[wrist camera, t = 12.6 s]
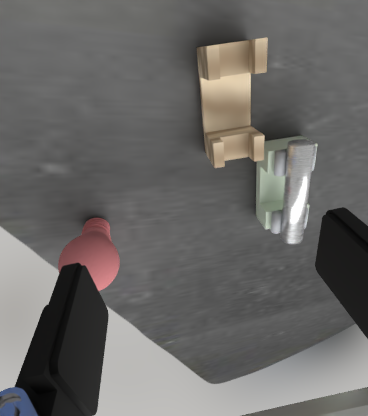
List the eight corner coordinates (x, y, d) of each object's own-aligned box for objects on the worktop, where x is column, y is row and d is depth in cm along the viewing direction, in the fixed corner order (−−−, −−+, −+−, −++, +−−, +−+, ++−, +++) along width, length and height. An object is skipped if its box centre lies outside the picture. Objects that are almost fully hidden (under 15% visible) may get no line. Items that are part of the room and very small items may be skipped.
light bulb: (130, 237, 42) (125, 296, 32) (87, 249, 42) (68, 312, 32) (113, 199, 39) (101, 252, 28) (66, 213, 39) (37, 270, 29)
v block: (257, 142, 37) (273, 155, 32) (301, 135, 37) (323, 146, 33) (255, 215, 43) (269, 234, 39) (294, 208, 44) (312, 227, 39)
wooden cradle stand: (196, 47, 31) (206, 46, 26) (247, 40, 31) (267, 37, 26) (205, 152, 37) (214, 168, 32) (247, 145, 37) (263, 160, 32)
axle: (282, 142, 33) (296, 149, 30) (305, 137, 33) (320, 144, 31) (276, 233, 40) (287, 246, 37) (295, 229, 40) (306, 241, 38)
